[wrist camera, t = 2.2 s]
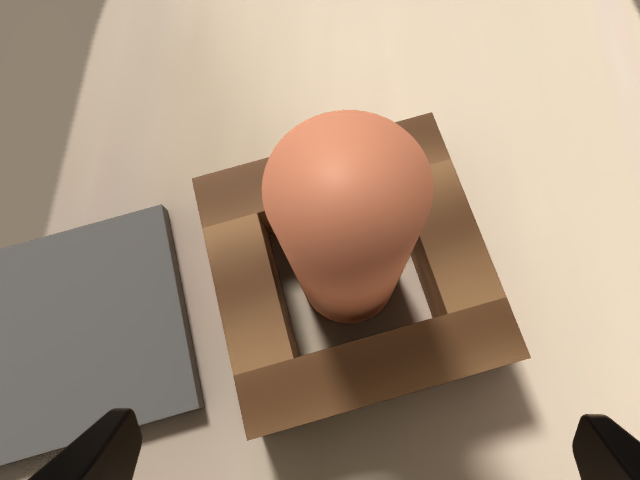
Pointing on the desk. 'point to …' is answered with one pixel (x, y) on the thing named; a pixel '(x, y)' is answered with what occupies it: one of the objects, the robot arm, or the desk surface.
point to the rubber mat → (92, 332)
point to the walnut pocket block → (367, 353)
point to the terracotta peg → (347, 208)
